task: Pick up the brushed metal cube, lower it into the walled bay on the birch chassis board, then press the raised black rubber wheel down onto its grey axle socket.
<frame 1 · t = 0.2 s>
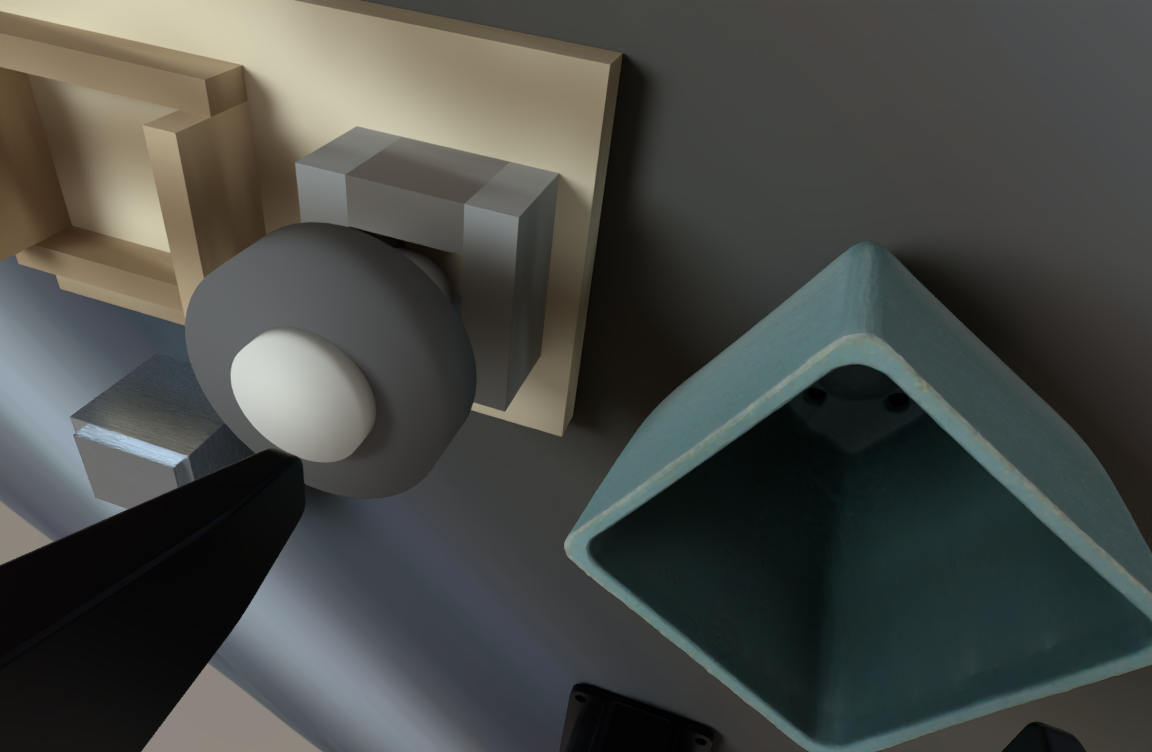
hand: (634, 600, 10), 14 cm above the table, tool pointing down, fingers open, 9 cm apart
wheel: (359, 340, 19), point 7 cm above the table, slide at 2.5 cm
flower pot: (855, 354, 23), on the table
brushed metal cube: (219, 406, 33), on the table
chassis board: (297, 187, 26), on the table
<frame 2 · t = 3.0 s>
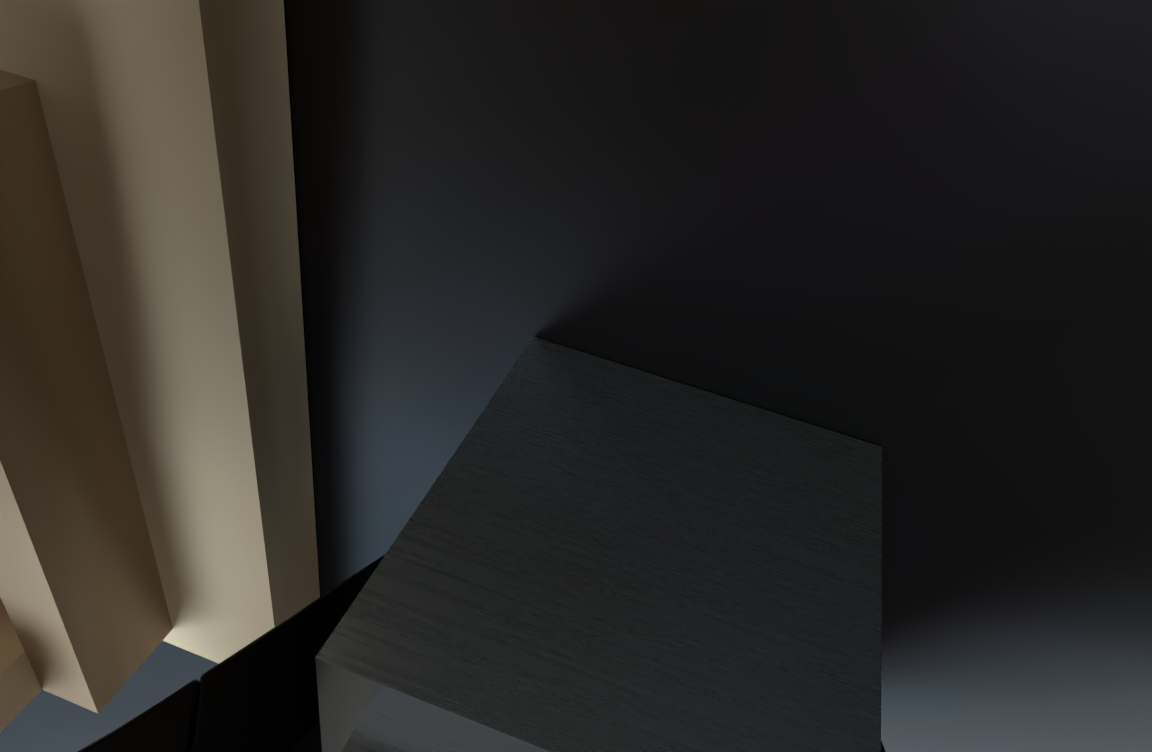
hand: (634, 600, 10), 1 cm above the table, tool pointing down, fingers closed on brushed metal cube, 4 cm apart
brushed metal cube: (653, 538, 10), on the table, touching gripper
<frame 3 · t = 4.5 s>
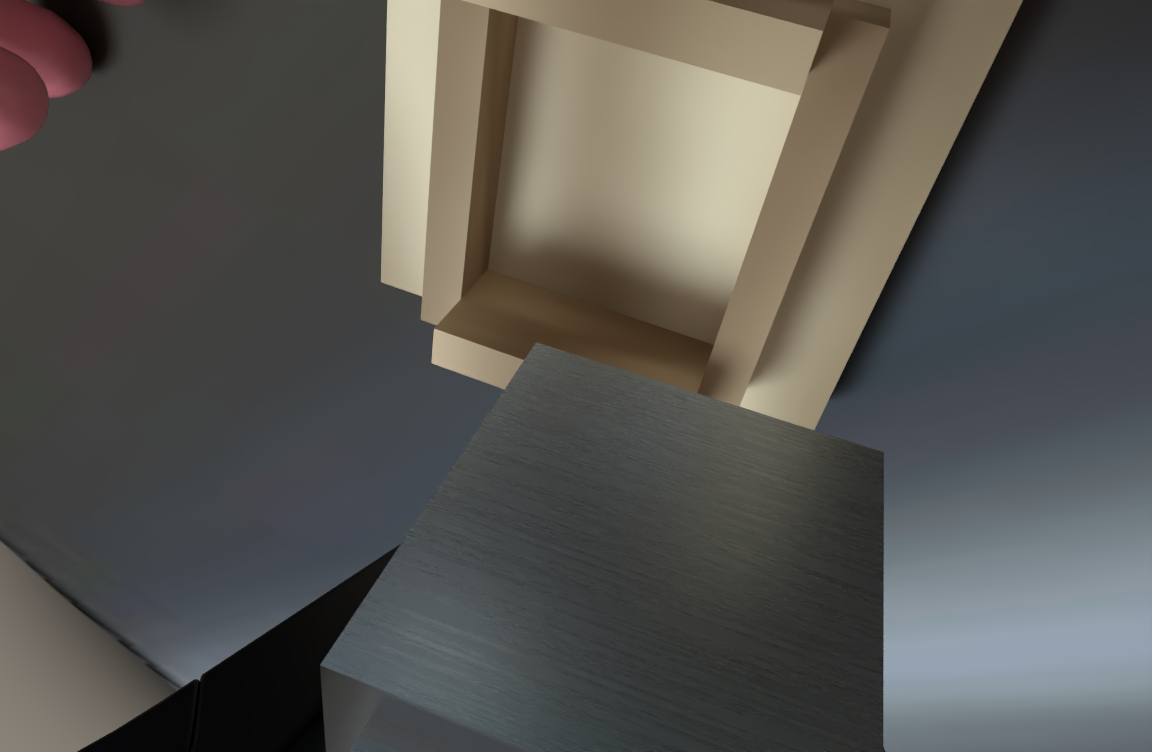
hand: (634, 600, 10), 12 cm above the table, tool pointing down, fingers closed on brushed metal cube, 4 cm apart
brushed metal cube: (655, 543, 10), point 11 cm above the table, touching gripper
when the fingers open (3 cm above the table, at t = 6.2 s): brushed metal cube drops 1 cm, resting on chassis board.
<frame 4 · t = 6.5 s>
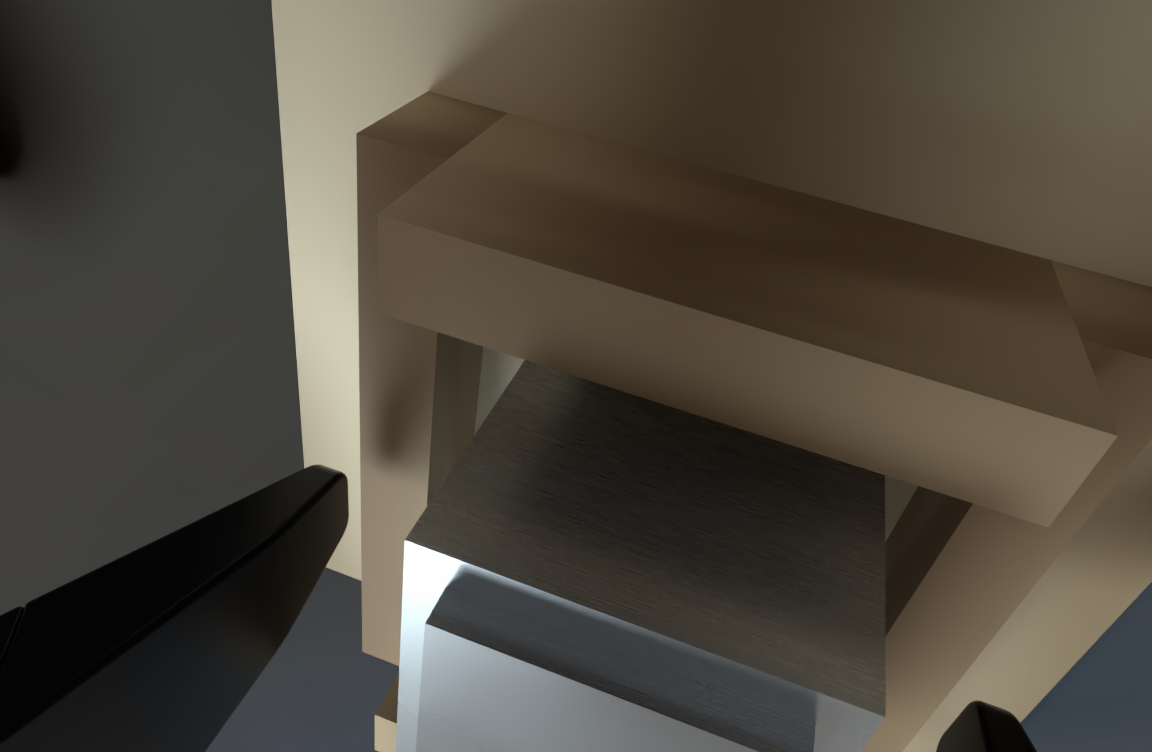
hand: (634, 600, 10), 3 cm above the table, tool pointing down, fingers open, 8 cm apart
brushed metal cube: (675, 480, 11), point 1 cm above the table, touching chassis board
chassis board: (789, 106, 9), on the table
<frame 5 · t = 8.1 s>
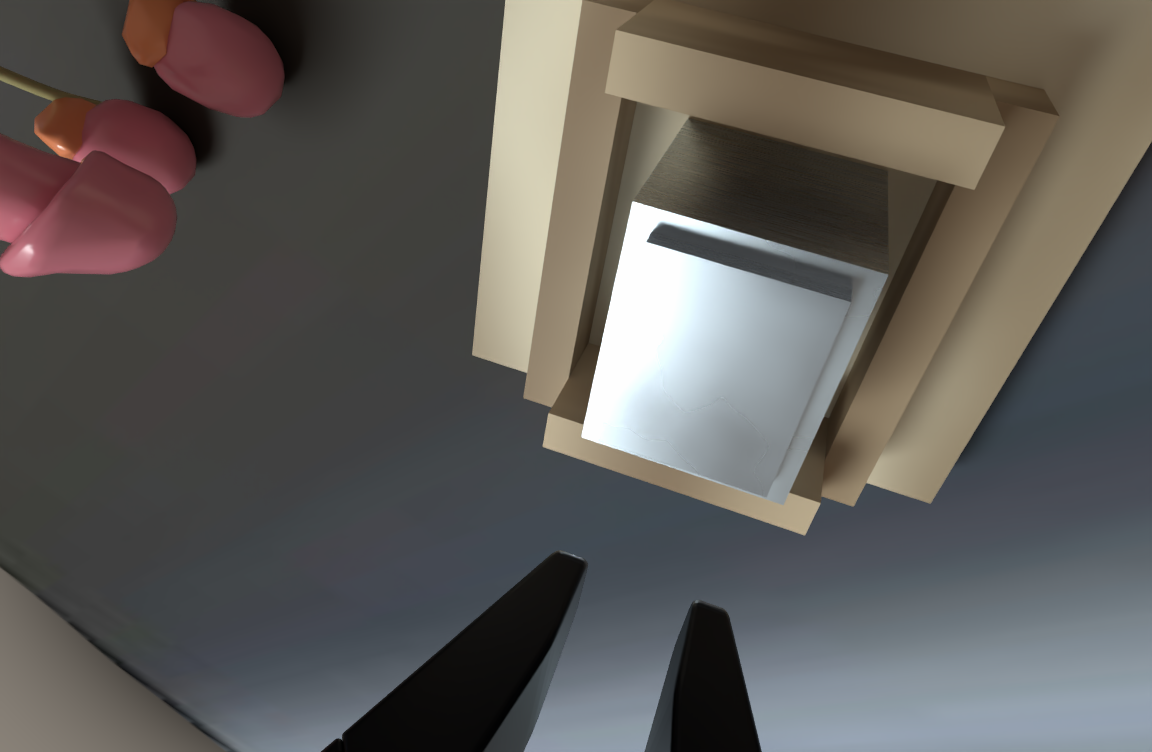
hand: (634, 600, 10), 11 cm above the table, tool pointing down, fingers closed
brushed metal cube: (749, 255, 17), point 1 cm above the table, touching chassis board
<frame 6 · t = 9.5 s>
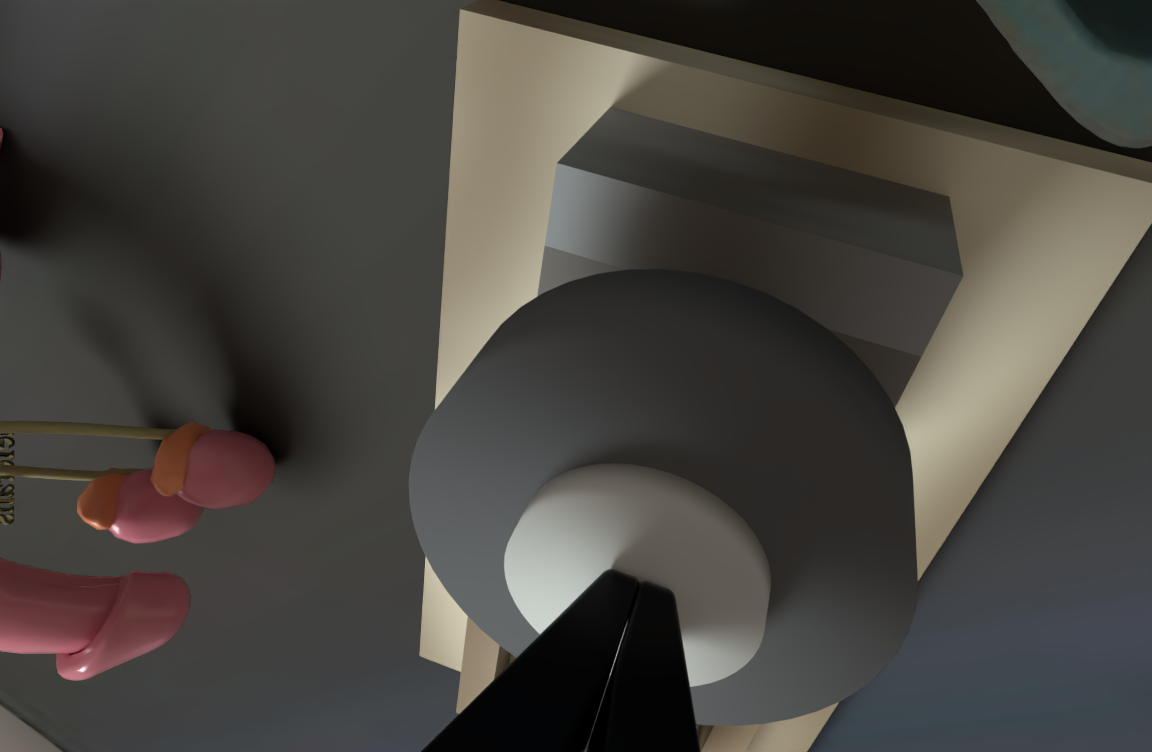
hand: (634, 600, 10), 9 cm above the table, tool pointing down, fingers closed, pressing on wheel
wheel: (674, 458, 12), point 6 cm above the table, slide at 2.2 cm, touching gripper
anatomy model: (66, 290, 24), on the table
chassis board: (671, 474, 20), on the table
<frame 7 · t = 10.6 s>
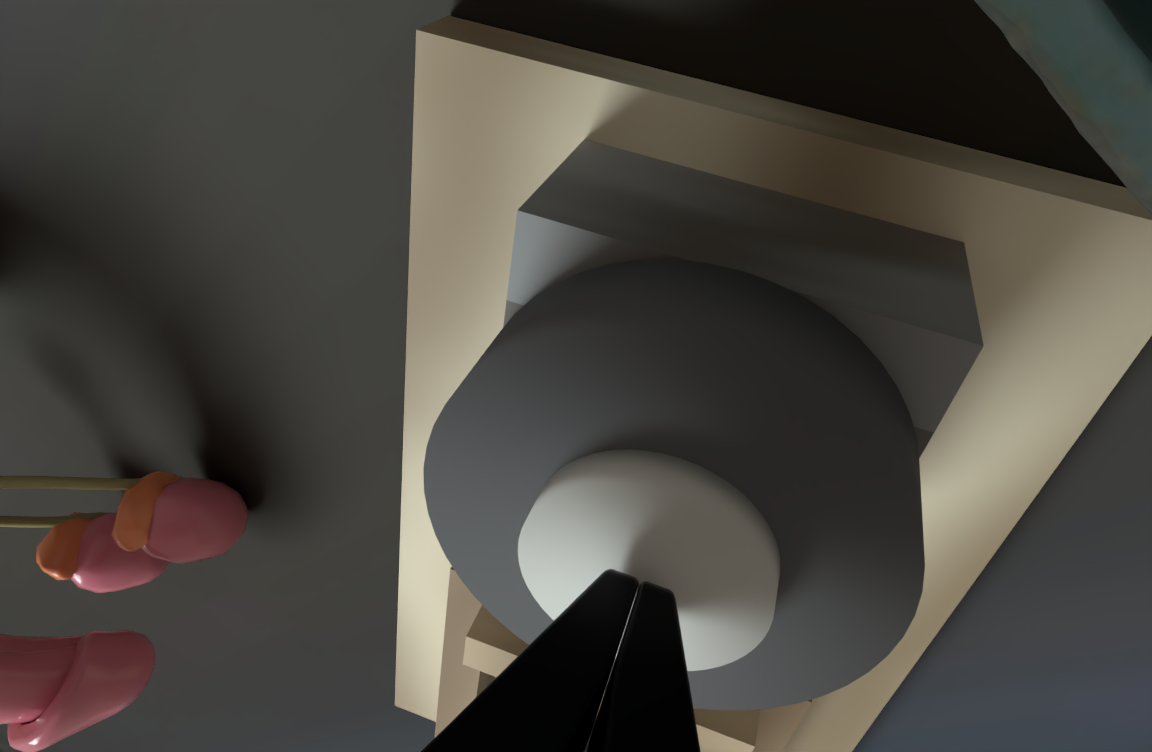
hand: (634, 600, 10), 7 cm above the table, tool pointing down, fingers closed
wheel: (684, 447, 12), point 4 cm above the table, slide at 0.1 cm
anatomy model: (25, 326, 22), on the table
chassis board: (658, 525, 19), on the table
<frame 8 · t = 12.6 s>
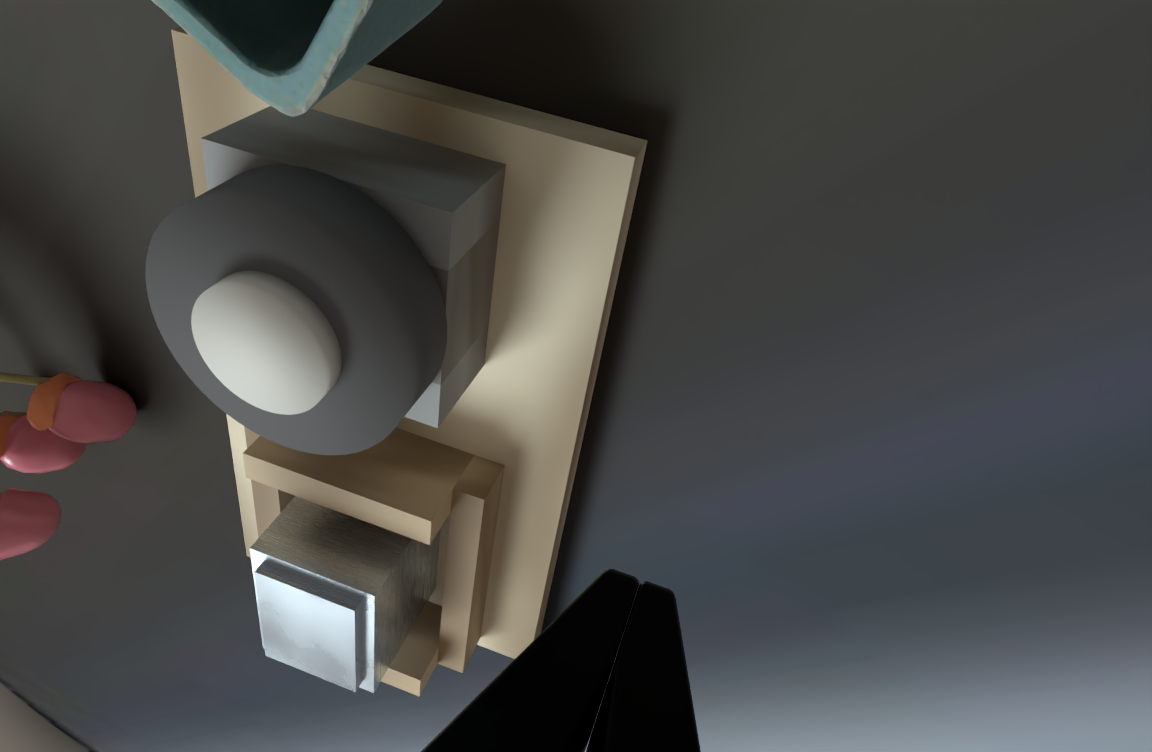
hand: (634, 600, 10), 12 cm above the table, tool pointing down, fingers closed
wheel: (328, 292, 19), point 4 cm above the table, slide at 0.1 cm
brushed metal cube: (386, 522, 28), point 1 cm above the table, touching chassis board
chassis board: (404, 390, 26), on the table
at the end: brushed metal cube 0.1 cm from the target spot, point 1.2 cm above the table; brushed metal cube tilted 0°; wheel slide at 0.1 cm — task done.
